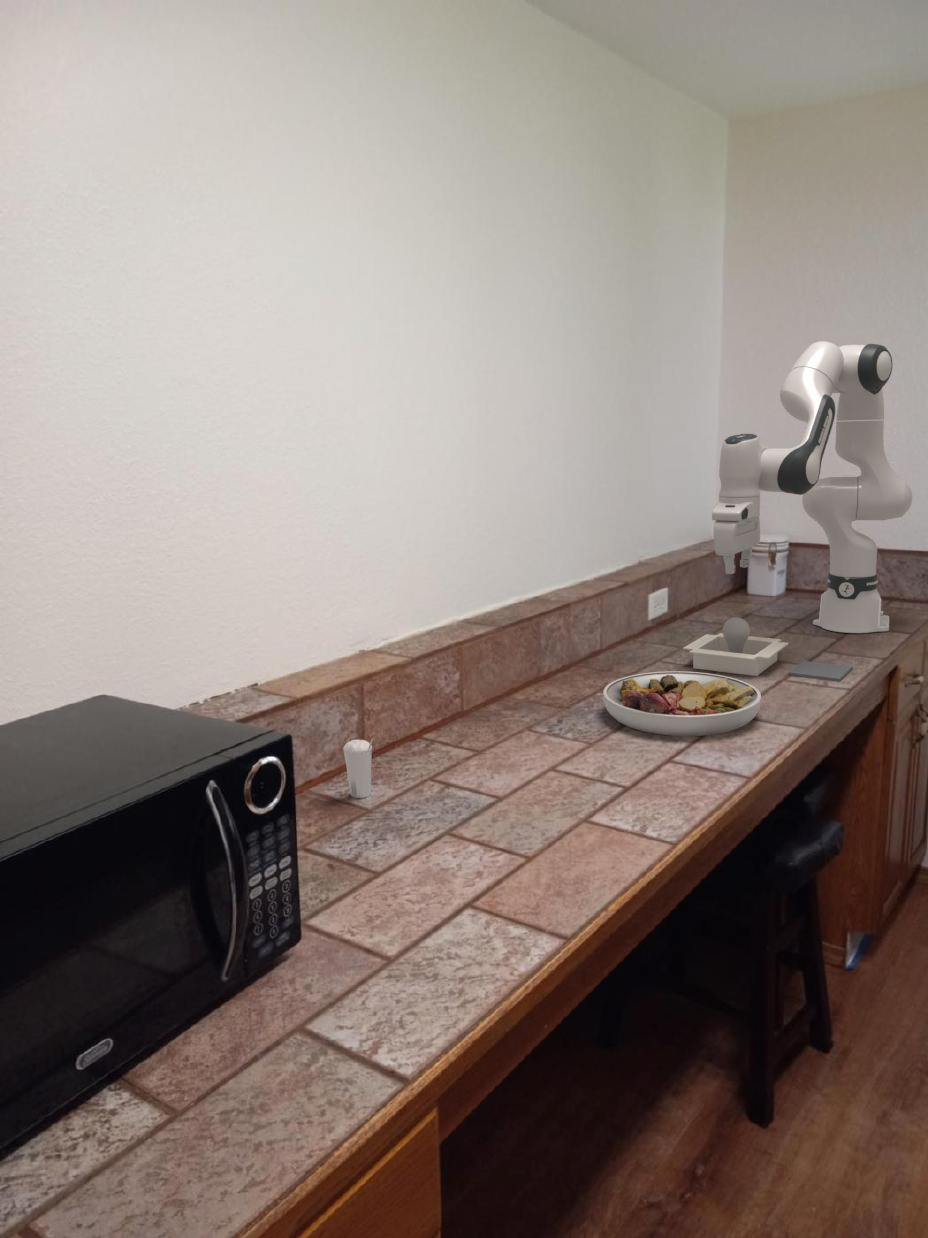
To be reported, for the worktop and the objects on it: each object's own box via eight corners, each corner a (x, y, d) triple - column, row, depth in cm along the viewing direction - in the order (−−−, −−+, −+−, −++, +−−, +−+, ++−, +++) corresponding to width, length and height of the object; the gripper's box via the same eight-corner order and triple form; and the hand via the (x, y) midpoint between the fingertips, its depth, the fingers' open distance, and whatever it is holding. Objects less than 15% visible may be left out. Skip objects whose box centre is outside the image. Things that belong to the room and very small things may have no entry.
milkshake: (367, 803, 157) (363, 743, 155) (340, 797, 160) (336, 738, 158) (384, 793, 161) (380, 734, 159) (358, 787, 164) (354, 729, 161)
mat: (802, 663, 226) (802, 660, 226) (852, 669, 220) (852, 666, 220) (787, 675, 218) (788, 672, 217) (839, 681, 211) (840, 678, 211)
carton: (709, 650, 241) (710, 632, 240) (791, 659, 230) (791, 640, 229) (678, 669, 225) (678, 650, 224) (764, 680, 214) (764, 660, 213)
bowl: (643, 686, 214) (643, 651, 213) (781, 707, 197) (783, 669, 196) (575, 726, 191) (575, 686, 189) (726, 753, 174) (727, 710, 172)
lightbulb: (746, 660, 230) (747, 614, 228) (751, 667, 224) (752, 620, 222) (719, 661, 231) (720, 615, 229) (724, 668, 225) (725, 620, 223)
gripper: (740, 503, 230) (739, 562, 233) (708, 513, 214) (707, 576, 216) (767, 504, 226) (766, 564, 229) (737, 514, 210) (736, 578, 213)
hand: (737, 570), depth 223 cm, fingers open, 8 cm apart
